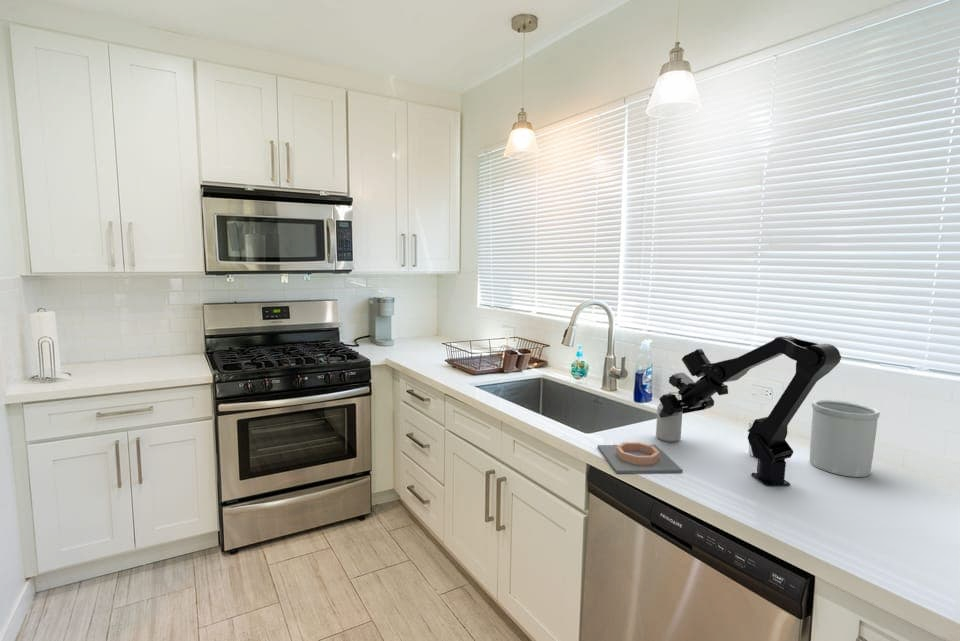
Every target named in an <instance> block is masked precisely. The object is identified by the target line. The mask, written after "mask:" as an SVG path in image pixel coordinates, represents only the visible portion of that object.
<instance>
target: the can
mask: <svg viewBox="0 0 960 641" xmlns="http://www.w3.org/2000/svg"><path fill="white" fill-rule="evenodd" d="M662 408H663V405H662V403H661V402H660V401H659V404H658V405H657V409H656V410H657V411H656V425H655V426H656V428H655V429H656V430H655V436H656V437H657V438H658V439H659V440H661V441H663V442H665V443H666V442H667V443H676V442H678V441H679V440H681V439H682V426H683V424H682V423H683V414H682V412H681V413H679V414H678V415H675V416H669V417H664V418H660V416H659V414H660V412H661V410H662Z"/></svg>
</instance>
